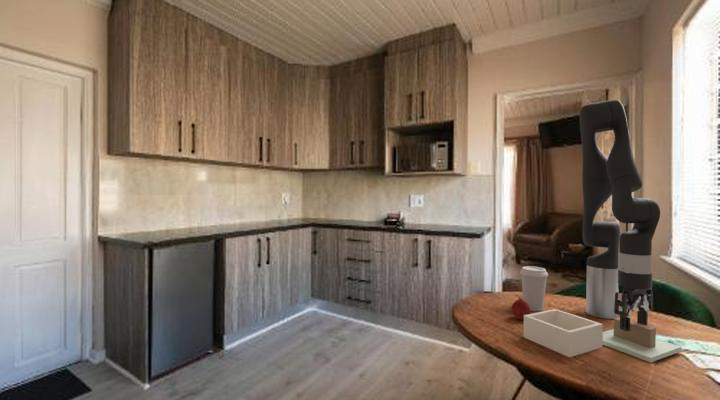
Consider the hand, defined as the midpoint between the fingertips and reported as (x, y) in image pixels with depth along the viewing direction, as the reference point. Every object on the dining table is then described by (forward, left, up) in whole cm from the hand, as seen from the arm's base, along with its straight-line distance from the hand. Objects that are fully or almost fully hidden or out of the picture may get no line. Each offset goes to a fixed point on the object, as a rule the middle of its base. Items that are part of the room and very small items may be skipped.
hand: (633, 327), depth 97 cm
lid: (0, 0, -5) cm, 5 cm away
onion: (+11, -28, -6) cm, 31 cm away
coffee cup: (-4, -35, -6) cm, 36 cm away
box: (+16, -10, -6) cm, 20 cm away
